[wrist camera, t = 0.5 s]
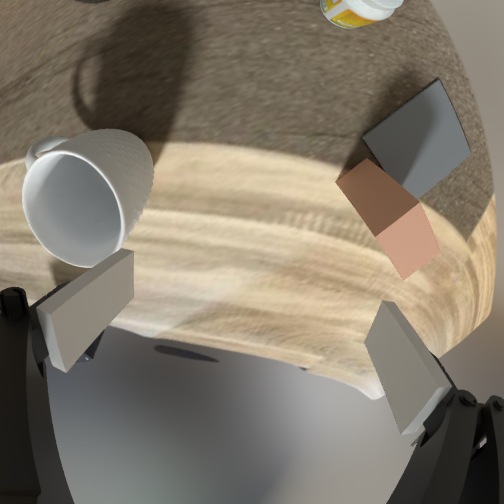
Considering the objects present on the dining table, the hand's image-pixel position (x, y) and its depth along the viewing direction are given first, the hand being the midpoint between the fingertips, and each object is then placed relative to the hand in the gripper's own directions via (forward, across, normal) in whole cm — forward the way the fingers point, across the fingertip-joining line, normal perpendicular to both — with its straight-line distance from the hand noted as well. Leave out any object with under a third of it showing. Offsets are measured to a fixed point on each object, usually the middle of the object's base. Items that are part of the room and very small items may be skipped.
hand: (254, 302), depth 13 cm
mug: (+17, -18, +5) cm, 26 cm away
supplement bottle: (+14, +4, +26) cm, 30 cm away
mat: (+20, +18, +14) cm, 30 cm away
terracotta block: (+21, +12, +6) cm, 25 cm away
